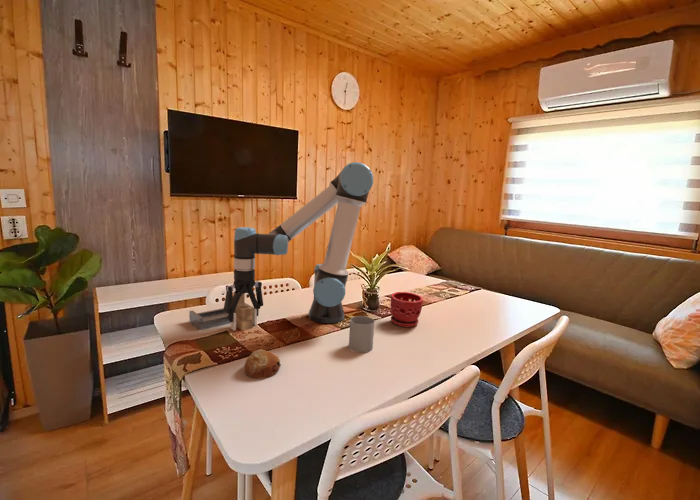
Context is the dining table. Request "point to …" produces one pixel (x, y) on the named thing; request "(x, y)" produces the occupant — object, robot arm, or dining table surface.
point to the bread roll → (262, 364)
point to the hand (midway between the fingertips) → (243, 326)
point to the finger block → (244, 317)
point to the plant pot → (405, 308)
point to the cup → (361, 334)
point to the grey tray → (213, 316)
